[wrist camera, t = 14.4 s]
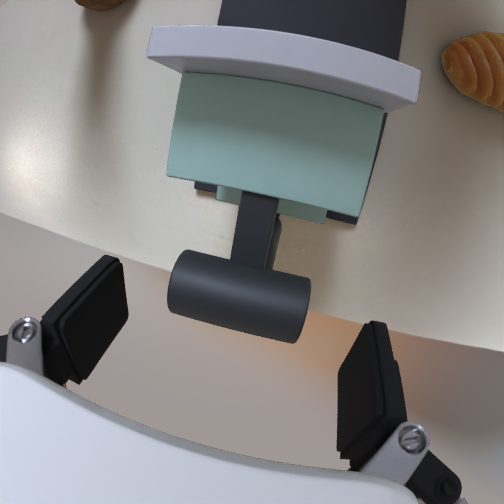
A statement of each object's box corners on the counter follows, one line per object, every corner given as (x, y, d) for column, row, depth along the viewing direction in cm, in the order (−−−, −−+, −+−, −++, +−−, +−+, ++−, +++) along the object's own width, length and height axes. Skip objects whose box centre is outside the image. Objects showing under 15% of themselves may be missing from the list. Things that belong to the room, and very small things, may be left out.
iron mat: (243, -75, 12) (242, -78, 11) (407, -45, 11) (409, -48, 10) (196, 186, 24) (193, 188, 23) (355, 222, 23) (356, 225, 22)
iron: (152, 25, 6) (125, 326, 9) (422, 69, 5) (326, 379, 9) (245, 93, 19) (223, 219, 22) (345, 113, 18) (315, 240, 22)
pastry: (447, 111, 17) (470, 114, 13) (427, 28, 14) (447, 17, 11) (528, 113, 14) (554, 118, 11) (513, 39, 11) (538, 35, 8)
